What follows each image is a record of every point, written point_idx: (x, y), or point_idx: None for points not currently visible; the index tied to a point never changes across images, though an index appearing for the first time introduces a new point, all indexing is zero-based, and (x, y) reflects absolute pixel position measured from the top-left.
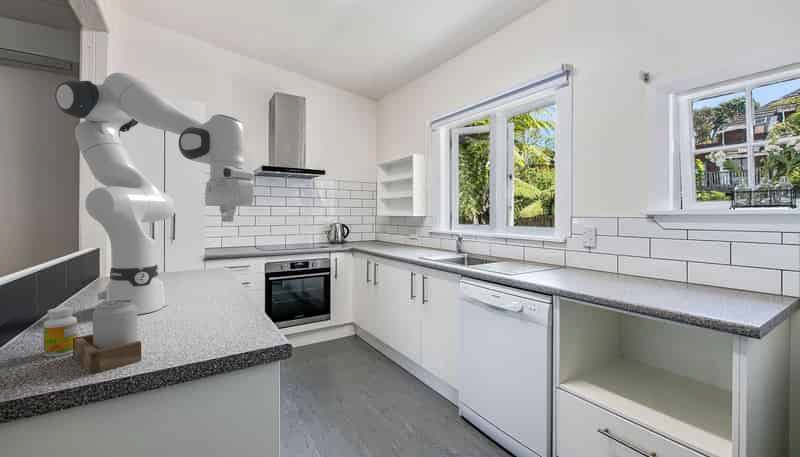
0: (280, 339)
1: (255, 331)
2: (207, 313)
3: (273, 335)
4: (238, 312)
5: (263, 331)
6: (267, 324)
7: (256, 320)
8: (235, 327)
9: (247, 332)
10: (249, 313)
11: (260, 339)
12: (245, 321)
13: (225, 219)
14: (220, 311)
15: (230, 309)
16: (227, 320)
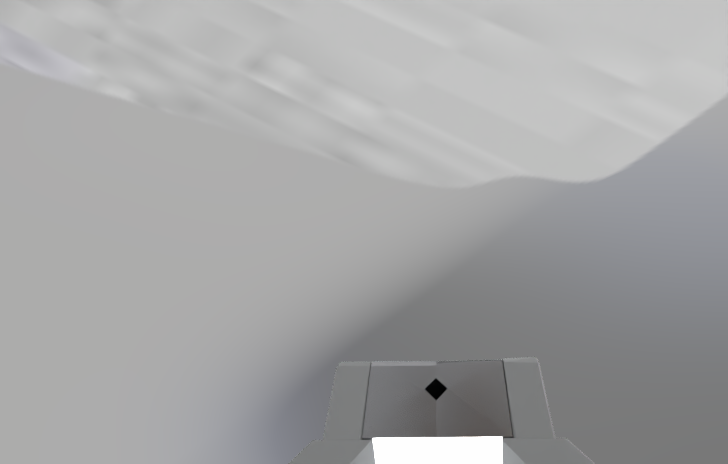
0: (18, 66)
1: (185, 43)
2: (690, 4)
3: (84, 72)
4: (558, 133)
5: (163, 68)
6: (251, 131)
7: (348, 127)
8: (308, 3)
9: (194, 10)
10: (492, 161)
11: (64, 6)
12: (371, 83)
13: (399, 380)
14: (664, 75)
15: (655, 130)
16: (457, 27)
